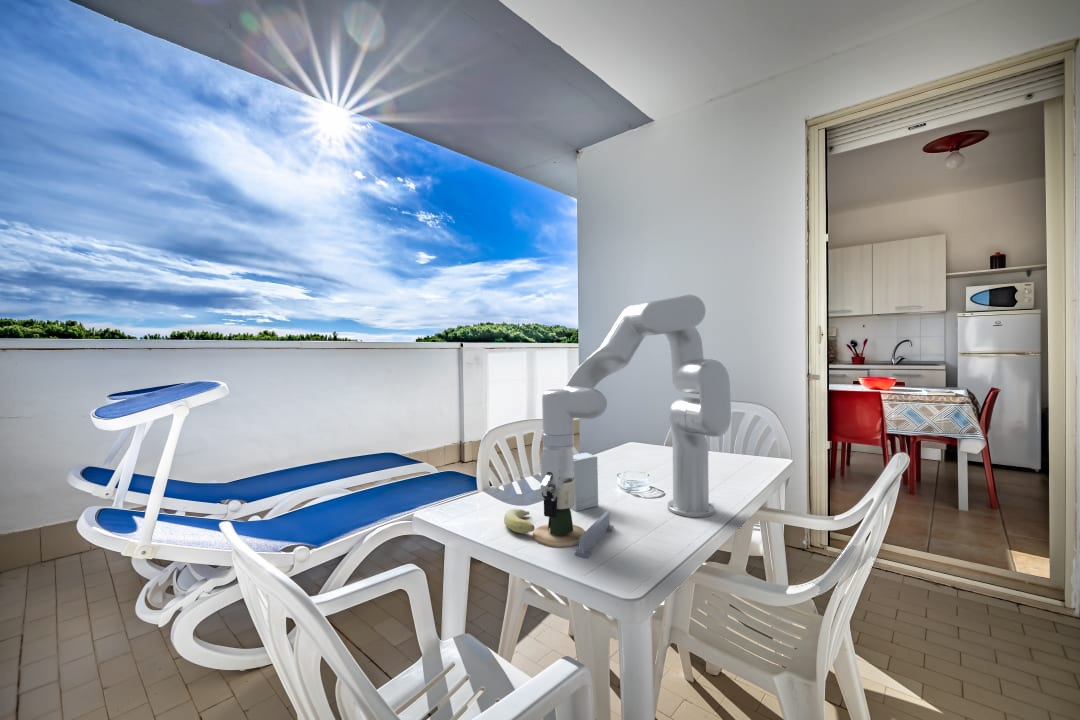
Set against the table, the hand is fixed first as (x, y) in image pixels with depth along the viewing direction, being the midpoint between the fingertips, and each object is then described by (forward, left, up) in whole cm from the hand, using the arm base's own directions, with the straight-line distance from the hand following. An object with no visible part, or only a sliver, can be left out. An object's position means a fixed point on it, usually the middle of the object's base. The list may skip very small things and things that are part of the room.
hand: (559, 510), depth 110 cm
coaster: (0, 0, -6) cm, 6 cm away
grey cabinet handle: (-1, +9, -6) cm, 11 cm away
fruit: (-1, -11, -6) cm, 13 cm away
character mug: (0, 0, -6) cm, 6 cm away
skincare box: (-22, -3, -7) cm, 23 cm away
